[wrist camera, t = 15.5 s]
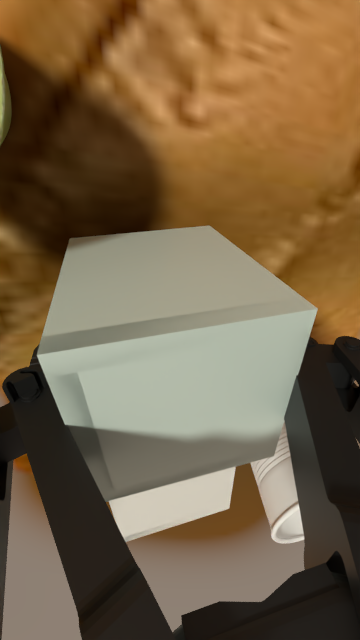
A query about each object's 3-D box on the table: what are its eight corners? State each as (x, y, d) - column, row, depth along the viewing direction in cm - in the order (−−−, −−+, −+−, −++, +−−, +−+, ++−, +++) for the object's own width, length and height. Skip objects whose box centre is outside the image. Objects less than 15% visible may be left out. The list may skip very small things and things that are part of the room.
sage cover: (209, 225, 16) (317, 308, 8) (205, 333, 21) (274, 455, 13) (69, 238, 15) (36, 355, 7) (97, 351, 19) (96, 504, 11)
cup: (231, 393, 30) (290, 501, 21) (308, 381, 32) (390, 472, 23) (217, 449, 35) (260, 554, 26) (285, 435, 38) (345, 526, 29)
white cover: (190, 346, 25) (238, 446, 17) (190, 406, 29) (229, 508, 21) (99, 364, 23) (102, 484, 15) (113, 424, 27) (123, 542, 19)
